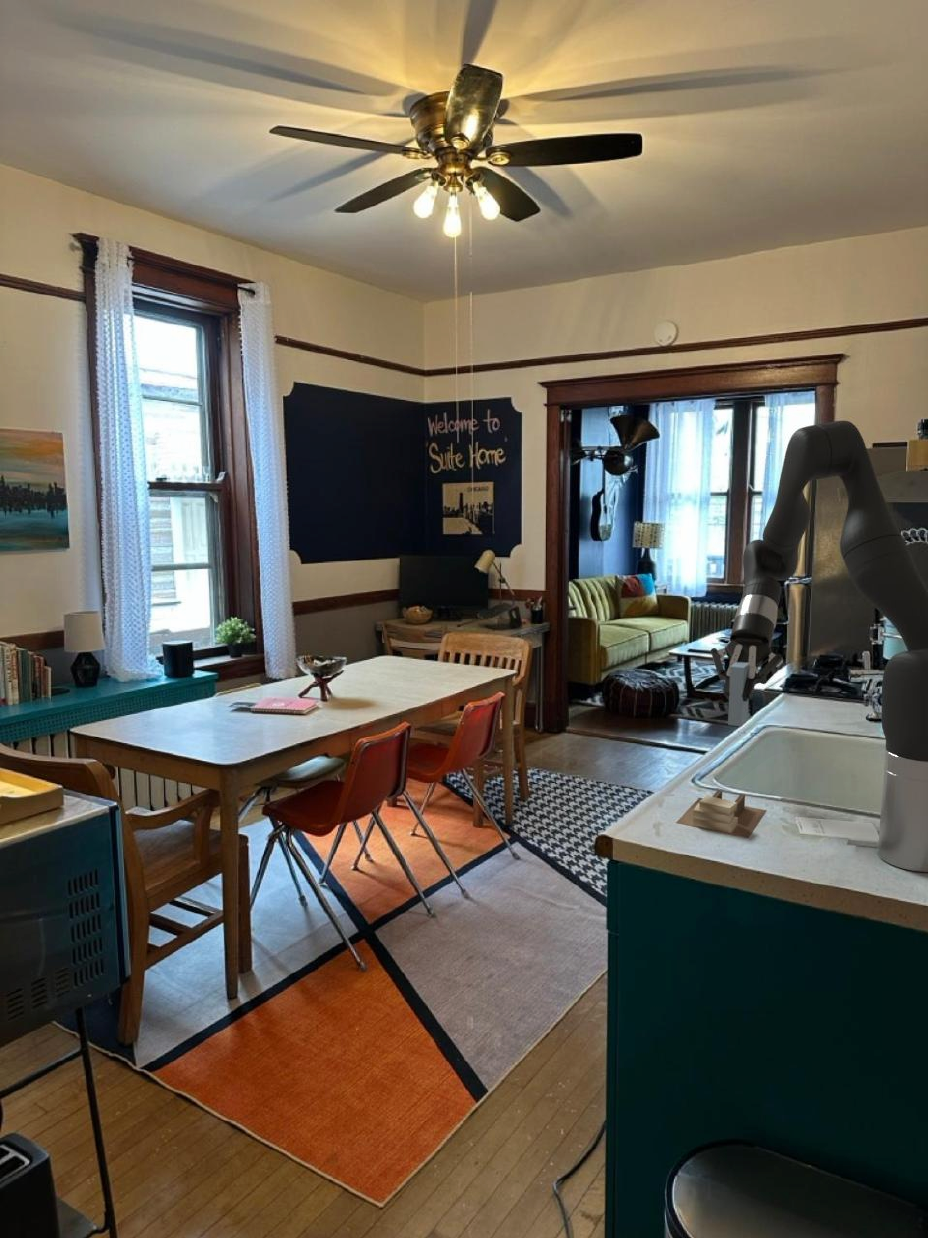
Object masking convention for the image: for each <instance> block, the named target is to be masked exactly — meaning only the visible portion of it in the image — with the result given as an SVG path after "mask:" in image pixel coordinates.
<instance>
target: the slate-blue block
mask: <svg viewBox="0 0 928 1238" xmlns="http://www.w3.org/2000/svg"><path fill="white" fill-rule="evenodd" d="M748 669H749V664H748V663H746V662H737V663H734V664H733V665H732V666H730V687H729V692H730V695H729V699H728V712H727V716H728V717H727V725H728V726H733V727H734V726H735V727H743V726H744V725H745V724H746V723H747V721H749V720H748V718H749V700H750V699H748V701H743V697H742V693H743V690H744V686H745V682H746V679H748Z"/></svg>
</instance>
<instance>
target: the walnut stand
mask: <svg viewBox="0 0 928 1238" xmlns="http://www.w3.org/2000/svg"><path fill="white" fill-rule="evenodd" d="M711 797H716V798H720V799H723V790H718V789H717V790H716V791H715V792H714V793H713V795H712V796H711ZM703 798H704V797H698V798H697V799H696V801H695V802H694V803H693V804H691V806H690V807H689V808H688V809H687V810H686V811H685V812H684V814H682V816H680V818H679V819H678V820H677V821H676V822H675V823H676V824H678V825H679V824H680V825H684V826H689V827H692V828H693V827H694V828H698V829H702V830H709V831H713V832H717V833H723V834H728V835H731V836H732V835H733V836H737V837H740V838H741V837H742V838H745V839H749V838H750V836H751V835H752V834H753V832H754V831H755V829H756V827H757V826H758V825H759V823H760V822H761V820H762V818H763V817H764V816H765V814H766V812H767V809H762V808H756V807H750V806H746V805H745V803H746V794H742V793H740V794H739V795H738V797H737V798H736V799H735V801H734V802H737V810H736V811H735V812H734V817H738V823H737V826H736V828H735V829H734V831H733V832H732V833H728V832H723V831H718V830H713V829H708V828H703V827H699V826H694V825H693V810H694V809H695V807H696V805H697V804H698V803H699V801H700V800H702V799H703Z"/></svg>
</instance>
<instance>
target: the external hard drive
mask: <svg viewBox="0 0 928 1238" xmlns="http://www.w3.org/2000/svg"><path fill="white" fill-rule="evenodd" d="M794 820H795V821H796V825H797V828H798V831H799V833H800V834H801V835H804V834H805V835H810V836H811V835H812V836H821V837H822V836H823V837H832V838H841V839H848V840H847V844H846V845H848V846H859V847H869V848H877V849H878V840H879V831H878V830H877V827H875V825H874V823H872V822H861V821H850V820H849V821H848V820H836V819H827V818H826V819H825V818H813V817H801V816H794Z"/></svg>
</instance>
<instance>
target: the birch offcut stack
mask: <svg viewBox="0 0 928 1238" xmlns="http://www.w3.org/2000/svg"><path fill="white" fill-rule="evenodd" d="M702 798H703V799H702V800H700V801H699V803H698V804H697V805H696V807H695V809H694V810H693V825H694V826H699V827H703V828H708V829H713V830H718V831H723V832H728V833H732V832H733V831H734V829H735V828H736V826H737V823H738V817H734V812H735V811H736V810H737V802H735V801H733V800H729V799H724V798H722V799H720V798H716V797H712V796H710V795H706V796H704V797H702Z"/></svg>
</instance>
